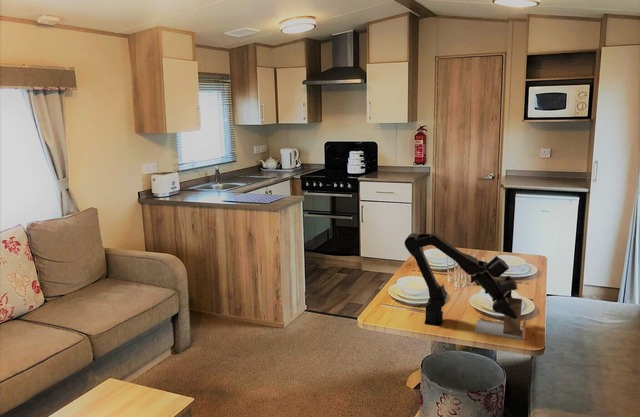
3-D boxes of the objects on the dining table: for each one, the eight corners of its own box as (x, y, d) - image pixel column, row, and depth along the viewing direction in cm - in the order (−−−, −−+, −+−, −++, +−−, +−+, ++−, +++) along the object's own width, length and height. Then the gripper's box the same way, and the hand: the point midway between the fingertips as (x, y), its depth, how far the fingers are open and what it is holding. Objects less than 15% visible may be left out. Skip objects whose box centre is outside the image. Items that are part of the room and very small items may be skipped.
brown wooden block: (503, 333, 202) (504, 302, 199) (504, 327, 208) (505, 297, 205) (519, 335, 200) (521, 304, 197) (520, 329, 205) (522, 299, 203)
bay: (473, 333, 204) (474, 323, 203) (477, 321, 215) (477, 312, 214) (525, 340, 196) (525, 331, 196) (525, 328, 207) (526, 318, 206)
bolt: (475, 287, 258) (506, 289, 252) (474, 285, 254) (506, 288, 248) (476, 275, 260) (507, 278, 254) (475, 273, 255) (506, 276, 250)
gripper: (503, 279, 192) (533, 311, 190) (506, 264, 208) (533, 293, 207) (480, 296, 196) (509, 327, 194) (485, 280, 213) (511, 309, 211)
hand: (516, 313), depth 202 cm, fingers open, 9 cm apart
